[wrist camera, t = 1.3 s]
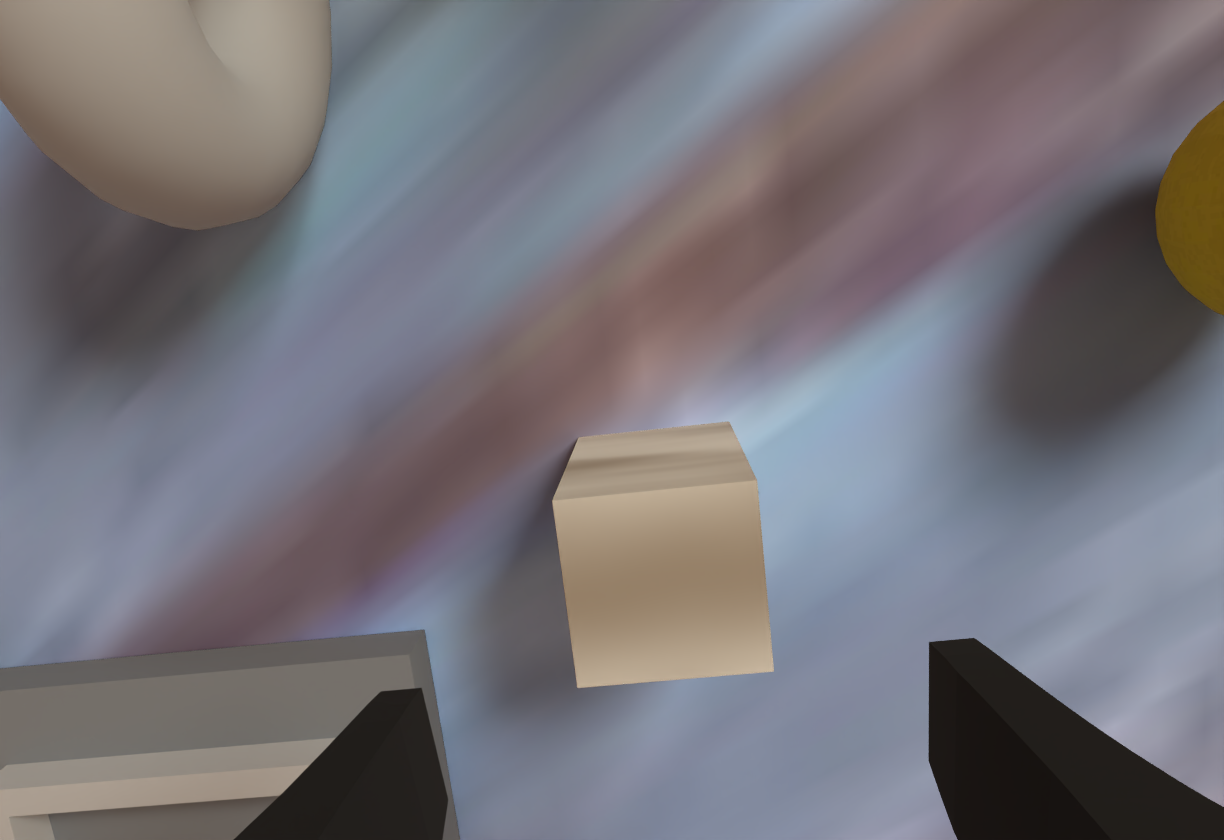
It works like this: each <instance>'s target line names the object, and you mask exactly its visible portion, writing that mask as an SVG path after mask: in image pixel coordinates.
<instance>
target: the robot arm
mask: <svg viewBox="0 0 1224 840" xmlns="http://www.w3.org/2000/svg"><path fill="white" fill-rule="evenodd" d="M929 763H930V766H931V769H932V772H933V775H934V778H935V780H936V783H937V786H938V789H939V792H940V795H941V798H942V801H943V803H944V806H945V809H946V811H947V814H948V817H949V820H950V822H951V825H952V828H953V830H954V833H955V835H956V837H957V839H958V840H1224V807H1222V806H1221V805H1219V804H1217V803H1215V802H1213V801H1212V800H1210V799H1208V798H1206V797H1205V796H1203V795H1201V794H1200V793H1198V792H1196V791H1194V790H1193V789H1191V788H1189V787H1188V786H1186V785H1184V784H1183V783H1181V782H1179V781H1178V780H1176V779H1175V778H1173V777H1171V776H1170V775H1168V774H1167V773H1165V772H1164V771H1162V770H1160V769H1159V768H1157V767H1156V766H1154V765H1153V764H1151V763H1149V762H1148V761H1146V760H1145V759H1143V758H1142V757H1140V756H1138V755H1137V754H1135V753H1134V752H1132V751H1131V750H1129V749H1128V748H1126V747H1125V746H1123V745H1122V744H1120V743H1119V742H1117V741H1116V740H1114V739H1113V738H1111V737H1110V736H1108V735H1107V734H1105V733H1104V732H1102V731H1101V730H1099V729H1098V728H1097V727H1095V726H1094V725H1092V724H1091V723H1089V722H1088V721H1086V720H1085V719H1084V718H1082V717H1081V716H1079V715H1078V714H1077V713H1075V712H1074V711H1072V710H1071V709H1070V708H1068V707H1067V706H1065V705H1064V704H1063V703H1061V702H1060V701H1059V700H1057V699H1056V698H1054V697H1053V696H1052V695H1050V694H1049V693H1048V692H1046V691H1045V690H1044V689H1042V688H1041V687H1039V686H1038V685H1037V684H1035V683H1034V682H1033V681H1031V680H1030V679H1029V678H1027V677H1026V676H1025V675H1023V674H1022V673H1021V672H1019V671H1018V670H1017V669H1015V668H1014V667H1013V666H1011V665H1010V664H1009V663H1007V662H1006V661H1005V660H1003V659H1002V658H1001V657H999V656H998V655H997V654H995V653H994V652H993V651H991V650H990V649H989V648H987V647H986V646H985V645H983V644H982V643H980V642H979V641H978V640H976V639H975V638H969V639H958V640H947V641H936V642H929ZM447 806H448V796H447V792H446V788H445V783H444V779H443V775H442V771H441V767H440V762H439V758H438V754H437V750H436V746H435V741H434V737H433V733H432V729H431V725H430V720H429V716H428V712H427V708H426V704H425V699H424V695H423V691H422V688H412V689H401V690H390V691H381V692H380V693H379V694H378V695H377V696H375V697H374V698H373V699H372V700H371V701H370V702H369V703H368V704H367V705H366V707H365V708H364V709H363V710H362V711H361V712H360V713H359V714H358V715H357V716H356V717H355V718H354V719H353V720H352V721H351V722H350V723H349V724H348V725H347V727H346V728H345V729H344V730H343V731H342V732H341V733H340V734H339V735H338V736H337V737H336V738H335V739H334V740H333V741H332V742H331V744H330V745H329V746H328V747H327V748H326V749H325V750H324V751H323V752H322V753H321V754H320V755H319V756H318V757H317V758H316V759H315V760H314V761H313V762H312V763H311V764H310V765H309V766H308V767H307V768H306V769H305V770H304V771H303V773H302V774H301V775H300V776H299V777H298V778H297V779H296V780H295V781H294V782H293V783H292V784H291V785H290V786H289V787H288V788H287V789H286V790H285V791H284V792H283V793H282V794H281V795H280V796H279V797H278V798H277V799H276V800H275V801H274V802H273V803H271V804H270V805H269V806H268V807H267V808H266V809H265V810H264V811H263V812H262V813H261V814H260V815H259V816H258V817H257V818H256V819H255V820H254V821H253V822H251V823H250V824H249V825H248V826H247V827H246V828H245V829H244V830H243V831H242V832H241V833H240V834H239V835H238V836H237V837H236V838H235V839H234V840H442V839H443V833H444V826H445V819H446V813H447Z"/></svg>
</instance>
